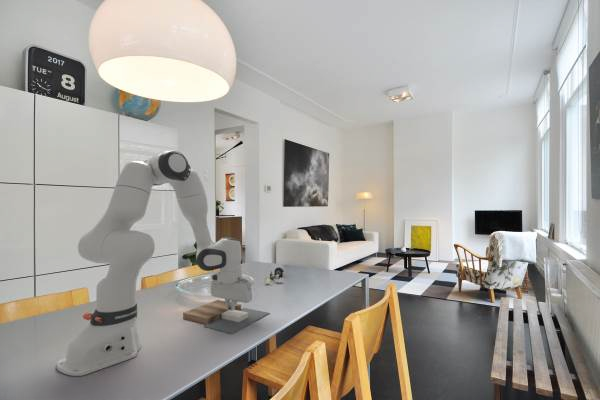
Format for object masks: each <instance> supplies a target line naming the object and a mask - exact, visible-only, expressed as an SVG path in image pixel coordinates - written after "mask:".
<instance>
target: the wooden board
mask: <svg viewBox="0 0 600 400" xmlns="http://www.w3.org/2000/svg"><path fill="white" fill-rule="evenodd" d="M230 303H231V301H230ZM231 305H232V303H231ZM240 309H242V304H241V303H238V302H237V303H236V305H235V310H240ZM226 311H228V310H227V305H226V303H225V300H220V299H216V300H214V301H211V302H209V303H205V304H203V305H200V306H198V307H195V308H193V309H189V310H187V311H185V312H182V319H183V320H187V321H191V322H194V323H198V324H202V325H204V326H205V325H207V324H209V323H211V322H214V321H216V320H218V319H220V318H222V313H224V312H226Z"/></svg>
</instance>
